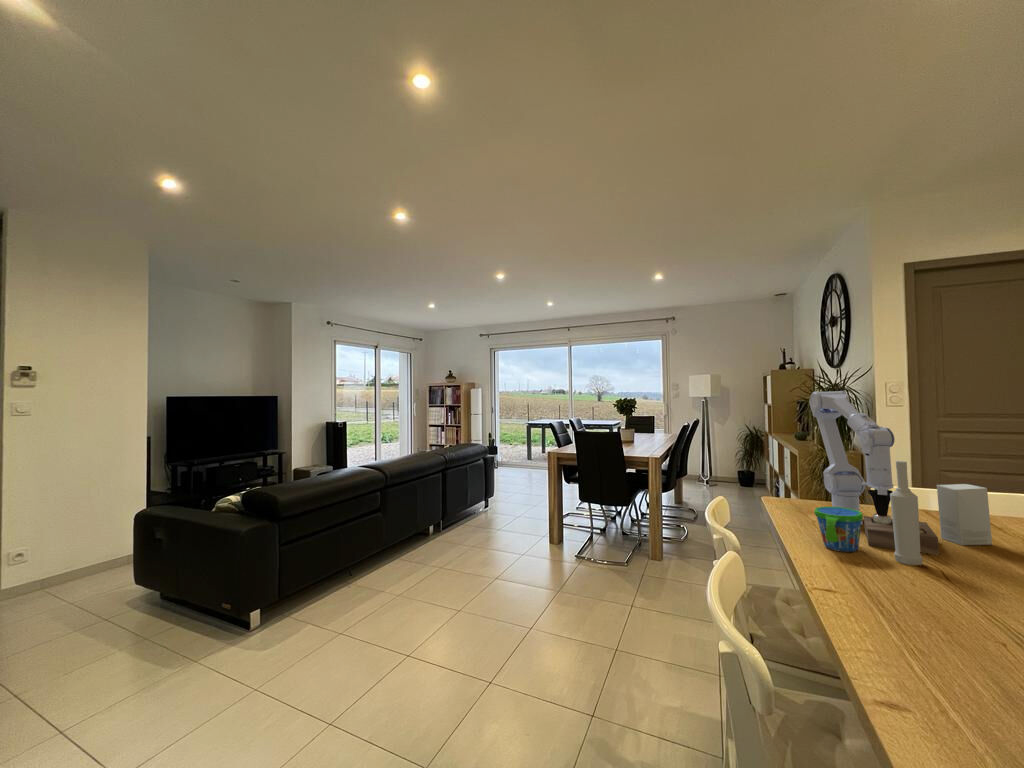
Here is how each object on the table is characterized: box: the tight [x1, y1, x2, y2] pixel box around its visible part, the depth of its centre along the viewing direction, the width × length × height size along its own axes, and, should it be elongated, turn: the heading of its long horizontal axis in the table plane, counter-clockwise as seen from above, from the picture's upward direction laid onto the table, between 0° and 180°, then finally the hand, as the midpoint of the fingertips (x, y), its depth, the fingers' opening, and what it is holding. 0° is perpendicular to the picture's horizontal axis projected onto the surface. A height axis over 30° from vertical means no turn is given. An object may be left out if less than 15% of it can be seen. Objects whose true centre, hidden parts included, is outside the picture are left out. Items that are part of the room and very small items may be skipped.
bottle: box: [890, 460, 923, 566], centre depth 106 cm, size 5×5×25 cm
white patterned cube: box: [872, 513, 892, 525], centre depth 124 cm, size 4×4×4 cm
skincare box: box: [936, 483, 993, 546], centre depth 118 cm, size 8×7×16 cm
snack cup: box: [813, 506, 864, 553], centre depth 116 cm, size 16×10×10 cm
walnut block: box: [863, 515, 940, 556], centre depth 120 cm, size 16×14×4 cm
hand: (881, 515), depth 124 cm, fingers closed, pressing on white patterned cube
